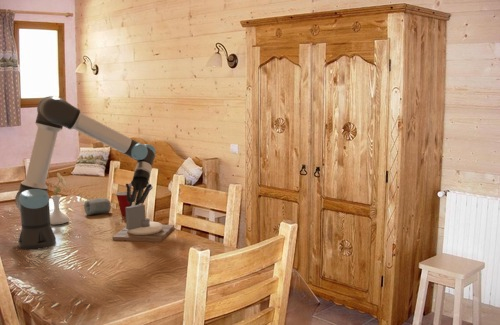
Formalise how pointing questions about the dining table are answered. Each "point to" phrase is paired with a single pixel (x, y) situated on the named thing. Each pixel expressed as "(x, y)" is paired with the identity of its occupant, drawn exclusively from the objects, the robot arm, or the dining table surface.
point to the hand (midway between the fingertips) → (131, 215)
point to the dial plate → (151, 237)
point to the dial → (140, 221)
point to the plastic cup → (123, 202)
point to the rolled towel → (97, 206)
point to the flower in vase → (57, 215)
